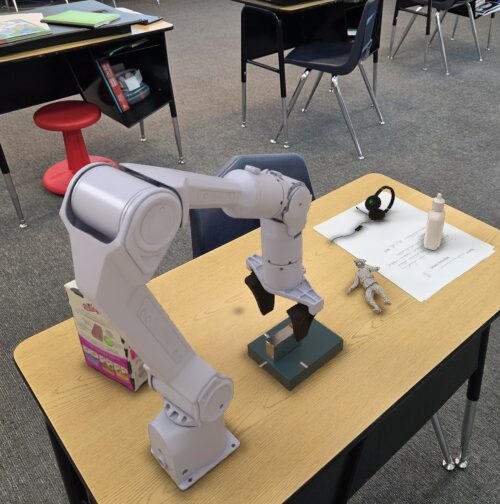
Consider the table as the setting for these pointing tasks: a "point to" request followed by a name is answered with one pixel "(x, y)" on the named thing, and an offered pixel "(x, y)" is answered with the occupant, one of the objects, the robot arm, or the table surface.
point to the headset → (376, 206)
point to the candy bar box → (104, 343)
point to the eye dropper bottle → (435, 223)
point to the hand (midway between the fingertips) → (283, 324)
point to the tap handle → (281, 343)
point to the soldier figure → (368, 283)
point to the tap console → (297, 353)
